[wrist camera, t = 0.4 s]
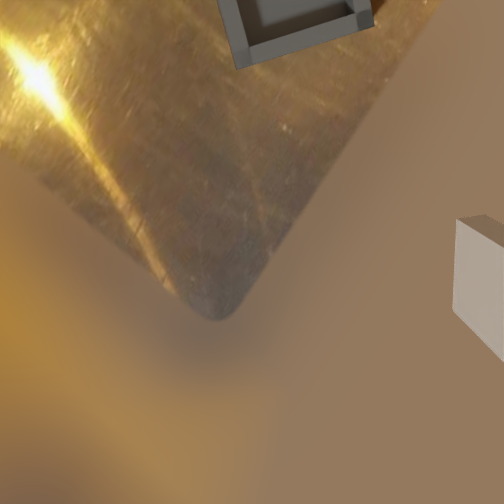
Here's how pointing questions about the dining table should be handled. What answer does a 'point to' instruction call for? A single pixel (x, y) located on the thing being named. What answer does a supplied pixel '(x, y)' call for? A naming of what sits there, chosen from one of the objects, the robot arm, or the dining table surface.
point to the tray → (288, 25)
